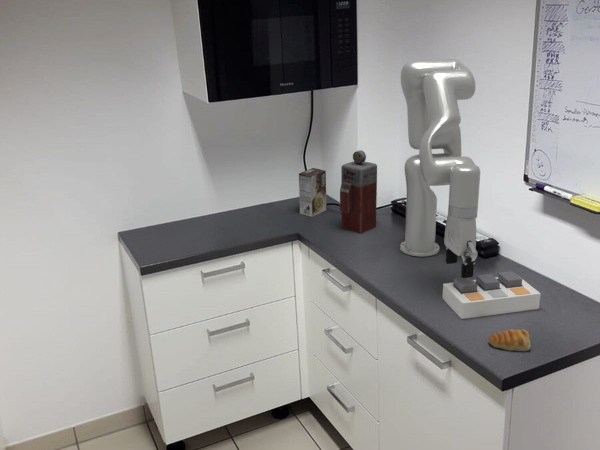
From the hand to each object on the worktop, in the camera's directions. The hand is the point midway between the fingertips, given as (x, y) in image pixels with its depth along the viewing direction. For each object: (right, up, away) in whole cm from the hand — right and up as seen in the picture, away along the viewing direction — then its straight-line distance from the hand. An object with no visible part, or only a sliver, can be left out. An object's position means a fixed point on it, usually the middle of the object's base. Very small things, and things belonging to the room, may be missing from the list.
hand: (458, 270), depth 176 cm
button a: (+1, -6, -2) cm, 7 cm away
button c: (+14, -5, 0) cm, 15 cm away
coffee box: (-38, +17, +71) cm, 82 cm away
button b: (+7, -6, -1) cm, 9 cm away
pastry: (+7, -17, -21) cm, 28 cm away
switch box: (+8, -9, -2) cm, 12 cm away
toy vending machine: (-23, +11, +54) cm, 59 cm away
